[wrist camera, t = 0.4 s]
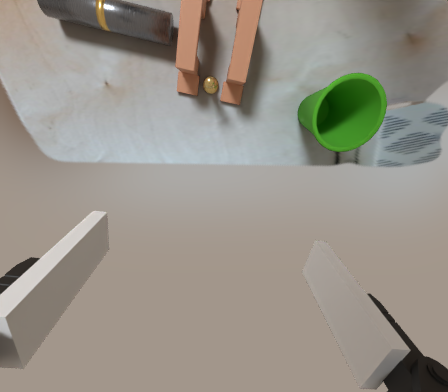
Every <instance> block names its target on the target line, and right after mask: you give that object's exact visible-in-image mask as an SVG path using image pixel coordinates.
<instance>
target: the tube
mask: <svg viewBox="0 0 448 392" xmlns="http://www.w3.org/2000/svg"><path fill="white" fill-rule="evenodd" d="M37 1H38V4H39V6H40V8H41V10H42V11H43V12H44V14H45V15H47V16H48V17H52V18H56V19H60V20H64V21H68V22H73V23H77V24H81V25H85V26H89V27H94V28H98V29H102V30H106V31H110V32H115V33H119V34H123V35H127V36H131V37H135V38H140V39H144V40H148V41H152V42H156V43H161V44H165V45H169V46H171V44H172V39H173V15H172V13H169V12H165V11H161V10H157V9H153V8H149V7H145V6H141V5H138V4H134V3H130V2H126V1H122V0H37Z"/></svg>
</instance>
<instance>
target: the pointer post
mask: <svg viewBox="0 0 448 392" xmlns="http://www.w3.org/2000/svg"><path fill="white" fill-rule="evenodd" d="M203 87H204V90H205V91H206V92H207V93H209V94H213V93H215V92H216V91H217V89H218V81H217V80H216V78H214V77H211V76H209V77H207V78H206V79H205V80H204V82H203Z"/></svg>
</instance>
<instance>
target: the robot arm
mask: <svg viewBox="0 0 448 392" xmlns="http://www.w3.org/2000/svg"><path fill="white" fill-rule="evenodd" d="M108 250H109V237H108V218H107V212H101V211H93V212H91V213H90V214H89V215H88V216H87V217H86V218H85V219H84V220H83V221H81V222H80V223H79V224H78V225H77V226H76V227H75V228H74V229H73V230H71V231H70V232H69V233H68V234H67V235H66V236H65V237H64V238H63V239H61V240H60V241H59V242H58V243H57V244H56V245H55V246H54V247H53V248H52V249H51V250H49V251H48V252H47V253H46V254H45V255H44V256H43V257H42V258H32V257H31V258H29V259H27V260H25V261H23V262H21V263H19V264H17V265H16V266H15V267H13V268H12V269H11V270H10V271H9V272H7V273H6V274H5V276H4V277H1V278H0V367H2V368H20V369H24V368H25V366H26V365H27V363H28V362H29V360H30V359H31V358H32V356H33V355H34V353H35V352H36V351H37V349H38V348H39V347H40V345H41V344H42V342H43V341H44V340H45V338H46V337H47V335H48V334H49V332H50V331H51V330H52V328H53V327H54V326H55V324H56V323H57V321H58V320H59V318H60V317H61V316H62V314H63V313H64V312H65V310H66V309H67V307H68V306H69V305H70V303H71V302H72V300H73V299H74V298H75V296H76V295H77V294H78V292H79V291H80V289H81V288H82V287H83V285H84V284H85V282H86V281H87V280H88V278H89V277H90V275H91V274H92V273H93V271H94V270H95V269H96V267H97V265H98V264H99V263H100V262H101V260H102V259H103V257H104V256H105V255H106V253H107V252H108ZM302 273H303V275H304V277H305V279H306V281H307V283H308V285H309V287H310V289H311V291H312V293H313V295H314V297H315V299H316V301H317V303H318V305H319V308H320V310H321V311H322V313H323V316H324V317H325V320H326V322H327V324H328V326H329V328H330V330H331V332H332V334H333V336H334V338H335V340H336V342H337V344H338V346H339V348H340V350H341V352H342V354H343V356H344V358H345V360H346V362H347V364H348V366H349V368H350V370H351V372H352V374H353V376H354V378H355V380H356V382H357V384H358V386H359V388H361V389H377V388H378V387H379V386H380V385H381V383H382V382H383V381H384V383H385V385H386V386H387V388H388V391H387V392H448V369H447V368H446V367H444V366H443V365H441V364H440V363H439V362H437V361H436V360H433V359H431V358H430V357H425V356H423V354H422V353H421V352H420V351H419V350H418V348H417V347H416V346H415V345H414V343H413V342H412V341H411V340H410V339H409V337H408V336H407V335H406V334H405V332H404V331H403V330H402V329H401V327H400V326H399V325H398V324H397V323H395V320H394V319H393V318H392V316H391V315H390V314H388V312H387V310H386V309H385V308H384V306H383V305H382V304H381V303H380V302H379V301H378V300H377V299H376V298H374V297H373V296H372V295H371V294H367V293H366V292H365V291H364V290H363V288H362V287H361V286H360V284H359V283H358V282H357V281H356V279H355V278H354V277H353V275H352V274H351V273H350V271H349V270H348V269H347V268H346V266H345V265H344V264H343V263H342V261H341V260H340V259H339V257H338V256H337V255H336V253H335V252H334V251H333V250H332V248H331V247H330V246H329V244H328V243H327V242H325V241H317V240H316V241H315V243H314V245H313V247H312V250H311V252H310V254H309V257H308V259H307V261H306V264H305V266H304V268H303V270H302Z"/></svg>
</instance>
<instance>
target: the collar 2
mask: <svg viewBox="0 0 448 392" xmlns="http://www.w3.org/2000/svg"><path fill="white" fill-rule="evenodd" d="M262 1H263V0H238V2H237V7H236V10H239V12H238V18H237V24H236V27H237V30H236V35H235V41H234V46H233V52H232V57H231V63H230V66H229V69H228V74H227V80H226V82H223V88H222V94H221V100H220V101H224V102H228V103H233V104H238V105H240V101H241V96H242V91H243V87H244V86H242V85H243V84H244V83H245V82H246V77H247V73H248V68H249V63H250V58H251V54H252V49H253V44H254V39H255V34H256V30H257V25H258V20H259V15H260V11H261V6H262Z"/></svg>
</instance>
